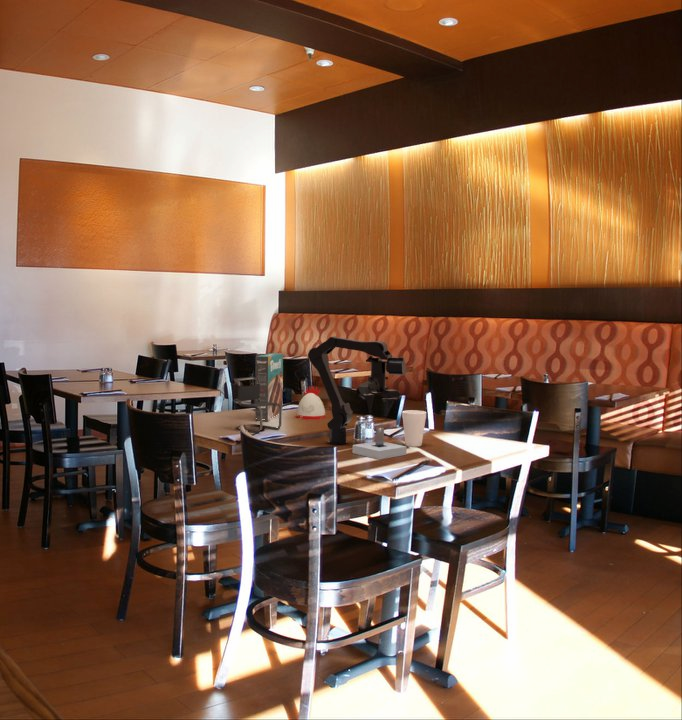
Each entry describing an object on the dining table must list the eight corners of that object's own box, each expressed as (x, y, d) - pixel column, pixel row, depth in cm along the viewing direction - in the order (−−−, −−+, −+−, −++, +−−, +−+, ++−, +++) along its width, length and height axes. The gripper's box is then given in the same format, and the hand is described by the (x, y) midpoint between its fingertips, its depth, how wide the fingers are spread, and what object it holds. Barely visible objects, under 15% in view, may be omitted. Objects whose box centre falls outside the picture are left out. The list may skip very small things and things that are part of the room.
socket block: (352, 453, 282) (352, 445, 281) (380, 448, 291) (380, 440, 290) (378, 459, 271) (378, 451, 271) (406, 454, 280) (406, 446, 280)
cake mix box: (267, 422, 350) (268, 356, 348) (255, 421, 352) (255, 356, 349) (282, 415, 372) (282, 353, 369) (270, 414, 373) (271, 353, 371)
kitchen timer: (321, 420, 358) (321, 388, 357) (292, 418, 361) (293, 387, 360) (328, 416, 372) (328, 385, 370) (301, 414, 375) (301, 384, 374)
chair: (253, 425, 339) (253, 376, 337) (282, 430, 328) (282, 379, 327) (231, 429, 329) (231, 378, 327) (260, 434, 318) (261, 381, 317)
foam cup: (397, 443, 302) (398, 410, 301) (418, 442, 305) (419, 409, 304) (408, 447, 293) (408, 414, 292) (429, 446, 297) (430, 413, 296)
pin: (373, 453, 281) (374, 428, 280) (379, 452, 283) (380, 427, 282) (379, 455, 279) (379, 429, 278) (385, 454, 281) (385, 428, 280)
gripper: (346, 373, 295) (345, 413, 296) (379, 377, 280) (378, 419, 282) (367, 371, 302) (367, 410, 303) (401, 375, 288) (400, 416, 289)
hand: (377, 414), depth 294 cm, fingers open, 9 cm apart
